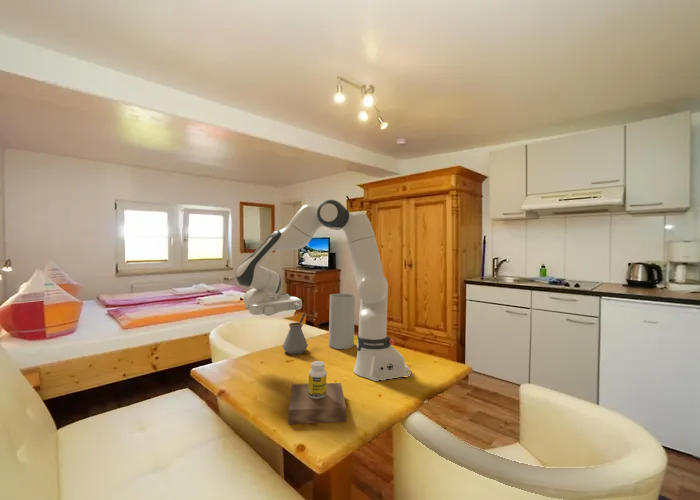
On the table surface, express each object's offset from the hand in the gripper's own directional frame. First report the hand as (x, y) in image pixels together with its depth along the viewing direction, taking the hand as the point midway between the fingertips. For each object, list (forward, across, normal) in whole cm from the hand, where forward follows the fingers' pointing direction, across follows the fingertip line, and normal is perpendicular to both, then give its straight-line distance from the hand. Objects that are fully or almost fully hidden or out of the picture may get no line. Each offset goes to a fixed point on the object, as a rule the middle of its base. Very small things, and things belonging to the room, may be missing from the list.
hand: (286, 309), depth 114 cm
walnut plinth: (+22, -2, +26) cm, 34 cm away
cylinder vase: (-20, +43, +27) cm, 54 cm away
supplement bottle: (+22, -2, +23) cm, 32 cm away
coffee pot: (-29, +24, +26) cm, 46 cm away
